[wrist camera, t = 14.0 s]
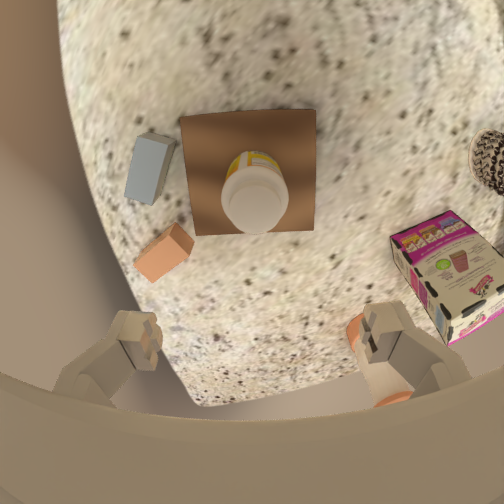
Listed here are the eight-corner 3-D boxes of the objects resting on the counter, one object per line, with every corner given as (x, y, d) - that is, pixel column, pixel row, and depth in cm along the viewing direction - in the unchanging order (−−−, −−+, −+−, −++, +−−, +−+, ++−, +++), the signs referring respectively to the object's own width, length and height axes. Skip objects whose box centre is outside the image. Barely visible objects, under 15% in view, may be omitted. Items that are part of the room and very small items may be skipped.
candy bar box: (393, 263, 37) (445, 350, 23) (388, 235, 34) (449, 321, 20) (453, 236, 34) (516, 306, 20) (451, 208, 32) (524, 275, 18)
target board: (182, 116, 27) (179, 117, 26) (313, 109, 26) (315, 110, 25) (197, 231, 34) (195, 235, 33) (311, 225, 34) (313, 230, 33)
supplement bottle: (236, 203, 31) (229, 251, 22) (221, 156, 28) (206, 186, 20) (285, 191, 30) (299, 235, 22) (273, 143, 27) (283, 166, 19)
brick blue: (149, 131, 28) (137, 136, 25) (177, 139, 28) (168, 145, 26) (135, 186, 31) (123, 196, 28) (161, 194, 32) (151, 205, 29)
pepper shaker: (347, 344, 46) (372, 441, 29) (345, 317, 42) (376, 425, 26) (385, 333, 45) (419, 425, 28) (386, 305, 41) (430, 405, 25)
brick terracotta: (176, 221, 34) (168, 234, 31) (194, 241, 35) (189, 255, 32) (141, 250, 36) (132, 265, 33) (159, 267, 38) (152, 283, 35)
